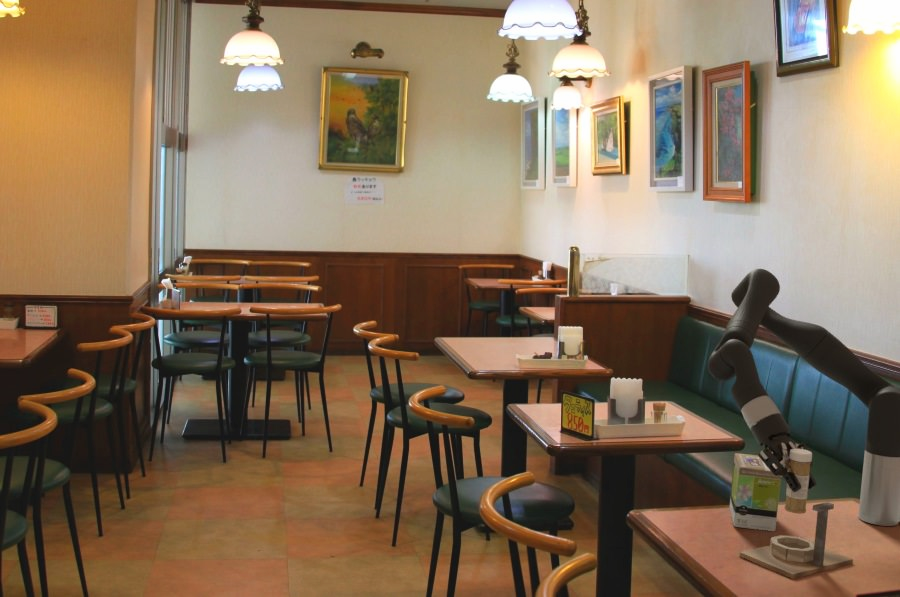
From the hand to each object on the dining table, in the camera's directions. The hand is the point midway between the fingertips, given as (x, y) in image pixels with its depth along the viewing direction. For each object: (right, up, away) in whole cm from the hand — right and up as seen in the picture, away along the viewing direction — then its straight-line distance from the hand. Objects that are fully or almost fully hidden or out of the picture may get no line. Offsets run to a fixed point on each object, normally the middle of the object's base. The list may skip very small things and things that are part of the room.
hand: (805, 488), depth 216 cm
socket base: (-1, -16, +2) cm, 16 cm away
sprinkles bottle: (-1, -6, +2) cm, 6 cm away
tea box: (-3, -13, +28) cm, 32 cm away
